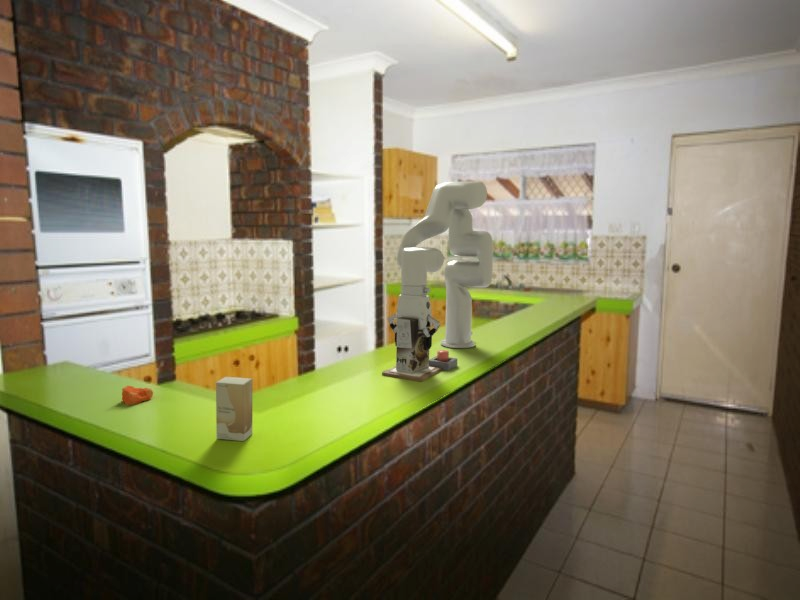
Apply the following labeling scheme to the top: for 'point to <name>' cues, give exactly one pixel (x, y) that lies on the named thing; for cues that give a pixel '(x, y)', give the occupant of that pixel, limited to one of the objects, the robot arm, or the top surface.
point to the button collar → (443, 363)
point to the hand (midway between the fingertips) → (412, 347)
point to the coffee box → (410, 347)
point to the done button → (443, 355)
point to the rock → (135, 395)
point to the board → (415, 376)
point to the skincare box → (234, 408)
